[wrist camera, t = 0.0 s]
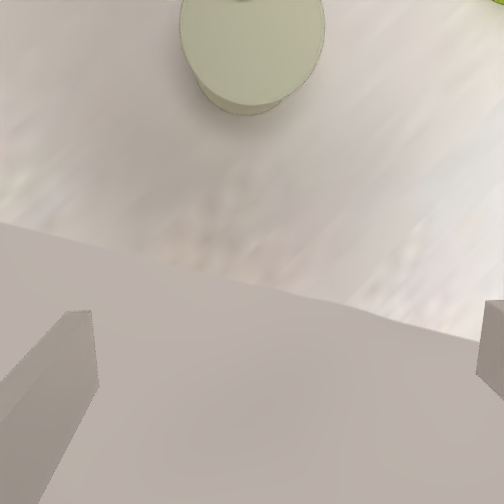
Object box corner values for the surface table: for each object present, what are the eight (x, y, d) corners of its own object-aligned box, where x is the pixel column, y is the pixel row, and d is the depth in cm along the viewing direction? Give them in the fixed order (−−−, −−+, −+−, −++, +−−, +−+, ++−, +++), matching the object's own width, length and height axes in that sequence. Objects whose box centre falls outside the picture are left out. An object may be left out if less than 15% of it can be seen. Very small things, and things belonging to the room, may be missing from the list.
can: (280, -13, 37) (304, -83, 25) (310, 96, 39) (344, 79, 28) (177, 22, 37) (154, -31, 26) (213, 129, 40) (207, 125, 28)
